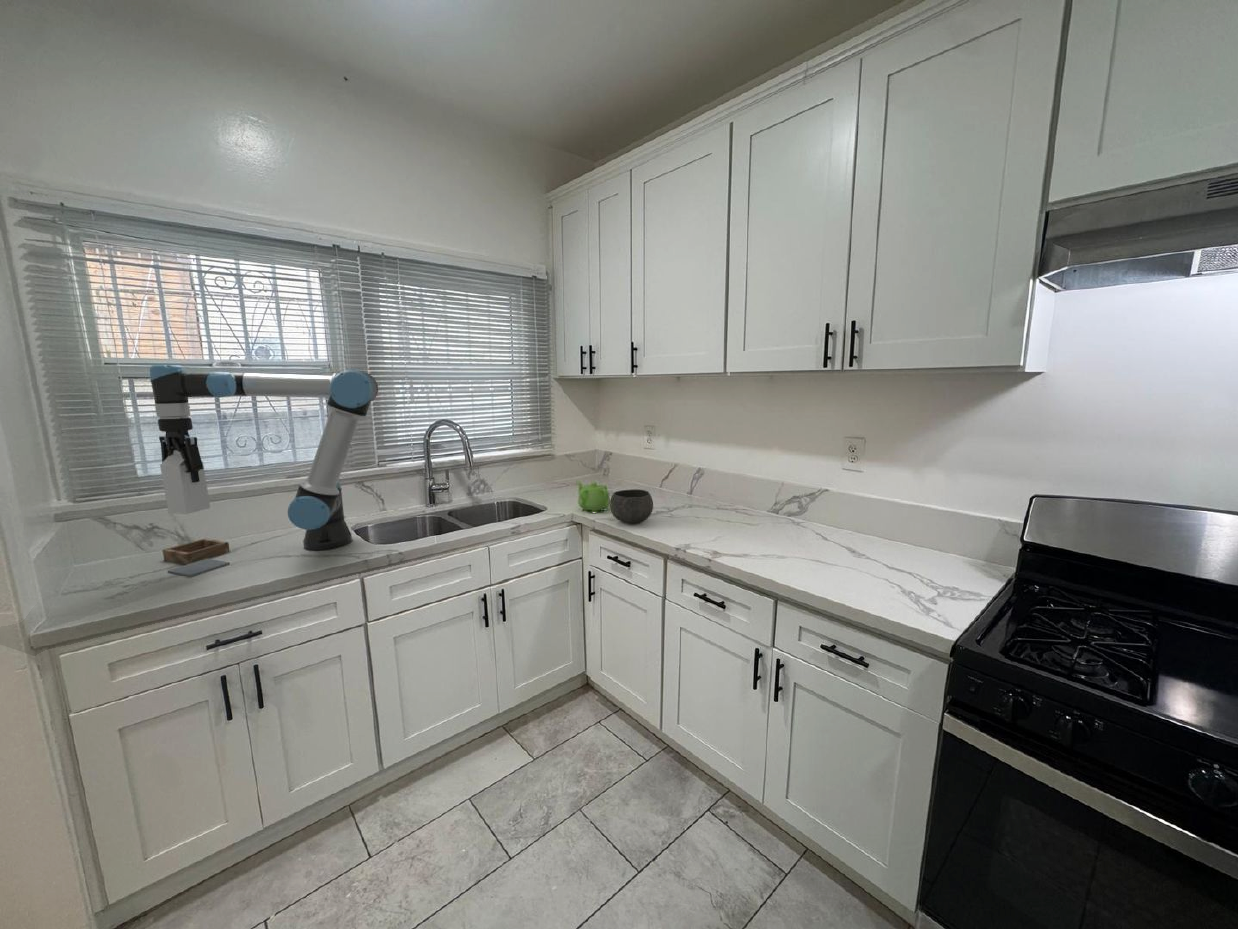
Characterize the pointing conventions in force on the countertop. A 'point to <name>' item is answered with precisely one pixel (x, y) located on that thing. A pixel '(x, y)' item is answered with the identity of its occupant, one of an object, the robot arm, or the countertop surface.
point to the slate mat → (198, 567)
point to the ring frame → (196, 551)
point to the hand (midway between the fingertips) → (186, 491)
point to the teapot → (593, 497)
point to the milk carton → (182, 487)
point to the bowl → (631, 505)
